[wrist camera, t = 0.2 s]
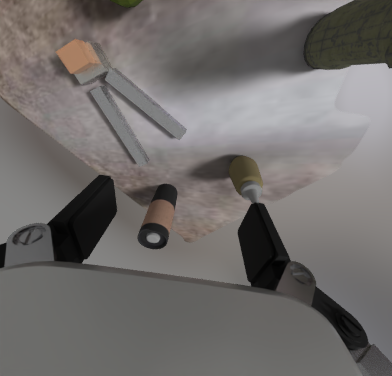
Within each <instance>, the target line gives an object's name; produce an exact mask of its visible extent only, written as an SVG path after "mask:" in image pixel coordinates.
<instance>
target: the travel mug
mask: <svg viewBox="0 0 392 376" xmlns="http://www.w3.org/2000/svg"><path fill="white" fill-rule="evenodd" d="M176 199H177V190H176V188H175V187H174V186H172V185H170V184H162V185H160V186H159V187H158V189H157V191H156V193H155V195H154V197H153V199H152V201H151V204H150V206H149V209H148V211H147V214H146V216H145V219H144V221H143V224H142V226H141V229H140V231H139V234H138V241H139V243H140V244H141V245H143V246H144V247H147V248H150V249H161V248H163V247H164V246H166V244H167V241H168V237H169V233H170V229H171V224H172V220H173V216H174V211H175V205H176Z"/></svg>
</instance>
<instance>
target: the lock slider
mask: <svg viewBox="0 0 392 376" xmlns="http://www.w3.org/2000/svg"><path fill="white" fill-rule="evenodd" d="M56 53H57V54H58V56H59V57H60V59H61V60H62V62H63V63H64V65H65V66H66V68H67V69H68V71H69V72H70V74H79V73H81V72H82V71H84V70H86V69H88V68H89V67H91V66H93V65H94V64H96V62H95V60H94V59H93V57H92V55H91V54H90V52H89V50H88V48H87V47H86V45H85V43H84V42H83V41H80V40H77V39H75V40H73V41H72V42H70V43H69V44H67V45H65V46H64V47H62V48H61V49H59V50H58V51H56Z"/></svg>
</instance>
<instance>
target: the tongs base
mask: <svg viewBox="0 0 392 376" xmlns="http://www.w3.org/2000/svg"><path fill="white" fill-rule="evenodd" d="M85 45H86V47H87V48H88V50H89V52H90V54H91V55H92V57H93V59H94V60H95V62H96V64H94V65H93V66H91V67H89V68H88V69H86V70H84V71H82V72H81V73H79V74H74V75H75V76H76V78H77V79H78V81H79V82H80V84H81V85H84V84H92V83H94V82H96V81H97V80H99V79H101V78H103V77H105V76H107V74H108V71H109V69H110V68H113V67H112V65H111V64H110V62H109V60H108V58H107V56H106V54H105V53H104V51H103V49H102V47H101V45H100V44H98V43H95V42H91V41H88V42H86V43H85ZM90 92H91V94H92V96H93V97H94V99H95V100H96V102H97V103H98V105H99V106H100V108H101V109H102V111H103V112H104V114H105V115H106V117H107V119H108V120H109V122H110V123H111V125H112V126H113V128H114V129H115V131H116V132H117V134H118V135H119V137H120V138H121V140H122V141H123V143H124V145H125V146H126V148H127V149H128V151H129V152H130V154H131V155H132V157H133V158H134V160H135V161H136V163H137V164H138V166H142V165H145V164H147V163H148V161H149V160H150V159H149V158H148V156H147V154H146V152H145V151H144V149H143V147H142V146H141V144H140V142H139V141H138V139H137V137H136V136H135V134H134V132H133V131H132V129H131V127H130V126H129V124H128V122H127V121H126V119H125V117H124V115H123V114H122V112H121V110H120V109H119V107H118V105H117V104H116V102H115V100H114V99H113V97H112V95H111V94H110V92H109V90H108V89H107V87H106V85H105V86H99V87H97V88H95V89H93V90H91V91H90Z"/></svg>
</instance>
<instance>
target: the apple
mask: <svg viewBox="0 0 392 376" xmlns="http://www.w3.org/2000/svg"><path fill="white" fill-rule="evenodd" d="M110 1H112V2H115V3H117V4H119V5H121V6H124V7H135V6H137V5H138V4H139V3H140V2H141V1H143V0H110Z"/></svg>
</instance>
